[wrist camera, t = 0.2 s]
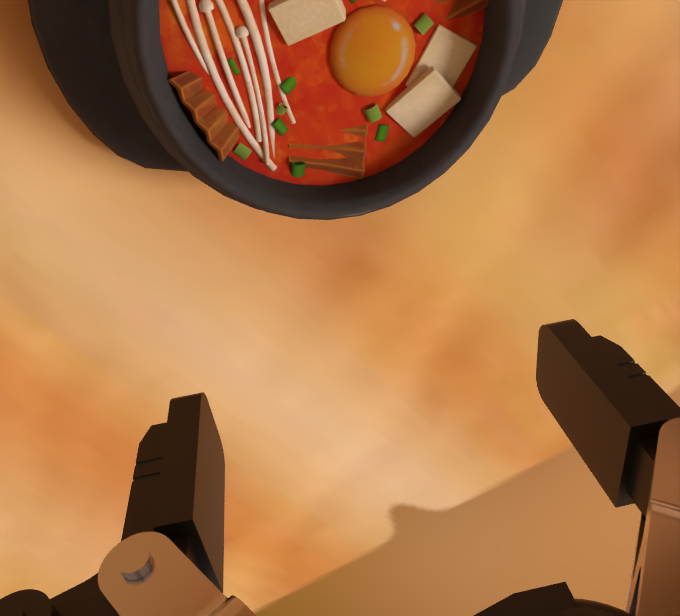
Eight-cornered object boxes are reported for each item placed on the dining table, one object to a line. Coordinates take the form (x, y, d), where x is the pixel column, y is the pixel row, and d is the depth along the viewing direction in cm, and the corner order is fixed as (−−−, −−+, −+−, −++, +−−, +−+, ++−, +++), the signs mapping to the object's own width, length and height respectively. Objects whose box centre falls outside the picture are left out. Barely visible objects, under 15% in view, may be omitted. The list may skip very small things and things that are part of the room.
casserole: (128, 216, 35) (110, 306, 28) (-57, -197, 22) (-161, -202, 16) (538, 126, 36) (611, 194, 29) (573, -317, 23) (711, -367, 17)
